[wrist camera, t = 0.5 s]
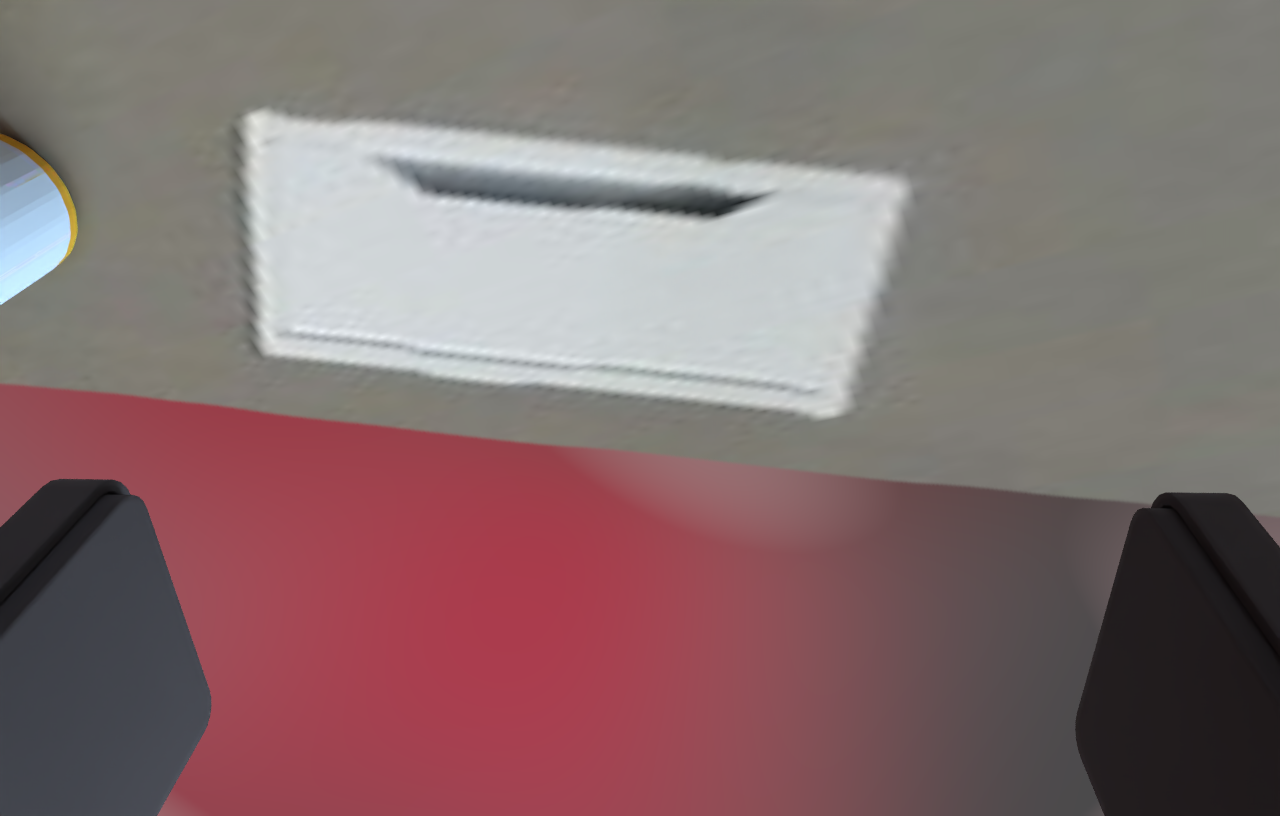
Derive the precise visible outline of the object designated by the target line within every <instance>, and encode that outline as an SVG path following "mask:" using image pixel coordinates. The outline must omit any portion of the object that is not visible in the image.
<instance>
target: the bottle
mask: <svg viewBox="0 0 1280 816" xmlns="http://www.w3.org/2000/svg"><path fill="white" fill-rule="evenodd" d="M77 231H78V227H77V216H76V210H75V206H74V204H73V201H72V199H71V197H70V194H69V192H68V190H67V188H66V186H65V184H64V183H63V182H62V180H61V179H60V177H59V176H58V175H57V173H56V172H55V171H54V169H53V168H52V167H51V166H50V165H49V164H48V163H47V162H46V161H45V160H44V159H42V158H41V157H40V156H39V155H38V154H37V153H35V152H34V151H33V150H32V149H30V148H29V147H27V146H26V145H24V144H22V143H20V142H18V141H16V140H14V139H12V138H10V137H8V136H6V135H3V134H0V305H1V304H3V303H4V302H6V301H7V300H8V299H10V298H11V297H13V296H14V295H16V294H17V293H19V292H20V291H22V290H23V289H25V288H26V287H28V286H29V285H31V284H32V283H34V282H35V281H37V280H38V279H40V278H41V277H42V276H44V275H45V274H47V273H48V272H50V271H51V270H53V269H54V268H55V267H56V266H57V265H59V264H60V263H62V262H63V261H64V259H65V258H66V257H67V256H68V255H69V254H70V253H71V251H72V249H73V247H74V243H75V240H76V237H77Z"/></svg>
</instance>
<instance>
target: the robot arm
mask: <svg viewBox="0 0 1280 816" xmlns="http://www.w3.org/2000/svg"><path fill="white" fill-rule="evenodd" d="M210 712H211V695H210V690H209V687H208V684H207V681H206V679H205V676H204V673H203V670H202V667H201V664H200V661H199V658H198V655H197V652H196V649H195V647H194V644H193V641H192V638H191V635H190V632H189V629H188V626H187V623H186V620H185V617H184V615H183V612H182V609H181V606H180V603H179V600H178V597H177V594H176V591H175V588H174V586H173V583H172V580H171V577H170V574H169V571H168V568H167V565H166V562H165V559H164V556H163V554H162V551H161V548H160V545H159V542H158V539H157V536H156V534H155V530H154V527H153V525H152V522H151V519H150V516H149V513H148V510H147V508H146V506H145V504H144V502H143V500H141V499H140V498H139V497H138V496H135V495H130V493H129V491H128V489H127V488H126V487H125V486H124V485H123V484H122V483H121V482H118V481H115V480H92V479H85V480H84V479H59V480H53V481H50V482H49V483H47V484H46V485H44V486H43V487H42V488H41V489H40V490H39V491H38V492H37V493H36V494H34V496H32V497H31V498H30V499H29V500H28V501H27V502H26V503H25V504H24V505H23V506H22V507H21V508H20V509H19V510H18V511H17V512H16V513H15V514H14V515H13V516H12V517H11V518H10V519H9V520H8V521H7V522H6V523H5V524H3V525H2V526H1V527H0V816H157V815H158V813H159V811H160V809H161V808H162V806H163V804H164V802H165V800H166V799H167V797H168V795H169V793H170V792H171V790H172V788H173V786H174V785H175V783H176V781H177V779H178V777H179V776H180V774H181V772H182V771H183V769H184V767H185V765H186V764H187V762H188V760H189V758H190V756H191V755H192V753H193V751H194V749H195V748H196V746H197V744H198V742H199V740H200V739H201V737H202V735H203V733H204V731H205V729H206V727H207V725H208V721H209V718H210ZM1075 730H1076V741H1077V746H1078V750H1079V753H1080V756H1081V759H1082V762H1083V764H1084V767H1085V769H1086V771H1087V774H1088V776H1089V779H1090V781H1091V784H1092V786H1093V789H1094V791H1095V794H1096V796H1097V798H1098V801H1099V803H1100V806H1101V808H1102V811H1103V813H1104V815H1105V816H1280V547H1279V546H1278V545H1277V543H1276V542H1275V541H1274V540H1273V538H1272V537H1271V536H1270V535H1269V534H1268V532H1267V531H1266V530H1265V529H1264V527H1263V526H1262V525H1261V524H1260V523H1259V521H1258V520H1257V519H1256V518H1255V516H1254V515H1253V514H1252V513H1251V512H1250V510H1249V509H1248V508H1247V507H1246V505H1245V504H1244V503H1243V502H1242V501H1241V500H1240V499H1239V498H1238V497H1236V496H1235V495H1232V494H1228V493H1163V494H1161V495H1159V496H1158V497H1157V498H1156V500H1155V501H1154V502H1153V504H1152V507H1151V508H1142V509H1139V510H1137V512H1136V513H1135V514H1134V516H1133V518H1132V521H1131V523H1130V527H1129V531H1128V534H1127V538H1126V541H1125V545H1124V548H1123V552H1122V555H1121V559H1120V562H1119V566H1118V569H1117V573H1116V577H1115V580H1114V584H1113V587H1112V591H1111V594H1110V598H1109V601H1108V605H1107V609H1106V612H1105V616H1104V619H1103V623H1102V626H1101V630H1100V633H1099V637H1098V641H1097V644H1096V648H1095V651H1094V655H1093V658H1092V662H1091V666H1090V669H1089V673H1088V676H1087V680H1086V683H1085V687H1084V690H1083V694H1082V698H1081V701H1080V705H1079V708H1078V712H1077V717H1076V729H1075Z"/></svg>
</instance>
